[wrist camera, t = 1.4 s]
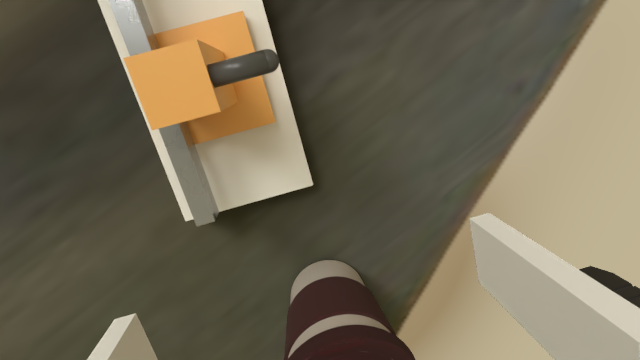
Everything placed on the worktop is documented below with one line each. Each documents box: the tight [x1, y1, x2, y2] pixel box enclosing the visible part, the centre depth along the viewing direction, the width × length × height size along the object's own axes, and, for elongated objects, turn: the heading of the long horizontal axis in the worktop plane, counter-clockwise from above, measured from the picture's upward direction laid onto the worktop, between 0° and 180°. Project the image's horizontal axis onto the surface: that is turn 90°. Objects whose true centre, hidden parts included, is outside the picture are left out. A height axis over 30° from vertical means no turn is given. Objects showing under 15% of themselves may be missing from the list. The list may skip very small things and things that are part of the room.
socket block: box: [98, 0, 313, 221], centre depth 28 cm, size 24×11×4 cm, turn 15°
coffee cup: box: [284, 260, 415, 360], centre depth 30 cm, size 10×10×15 cm
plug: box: [123, 11, 279, 144], centre depth 24 cm, size 8×9×13 cm
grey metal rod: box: [108, 0, 219, 226], centre depth 25 cm, size 21×3×2 cm, turn 15°
